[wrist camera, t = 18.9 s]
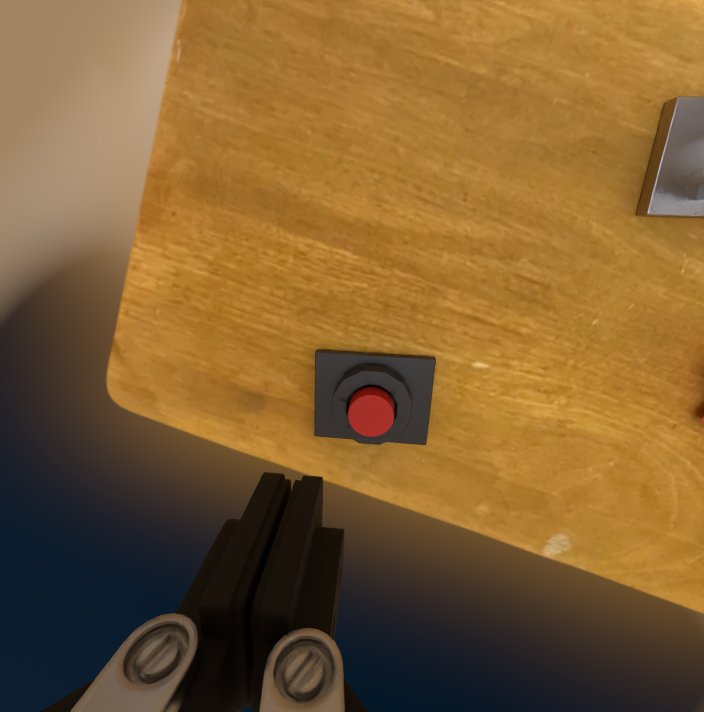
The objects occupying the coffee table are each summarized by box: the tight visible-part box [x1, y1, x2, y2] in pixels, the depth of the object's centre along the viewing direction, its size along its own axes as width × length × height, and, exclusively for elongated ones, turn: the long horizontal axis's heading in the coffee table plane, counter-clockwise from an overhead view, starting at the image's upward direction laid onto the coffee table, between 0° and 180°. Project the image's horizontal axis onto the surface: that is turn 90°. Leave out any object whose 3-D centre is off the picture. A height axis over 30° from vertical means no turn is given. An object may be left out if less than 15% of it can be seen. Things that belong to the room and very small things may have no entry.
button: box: [348, 387, 394, 437], centre depth 29 cm, size 4×4×2 cm
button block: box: [314, 350, 436, 445], centre depth 31 cm, size 10×8×2 cm
